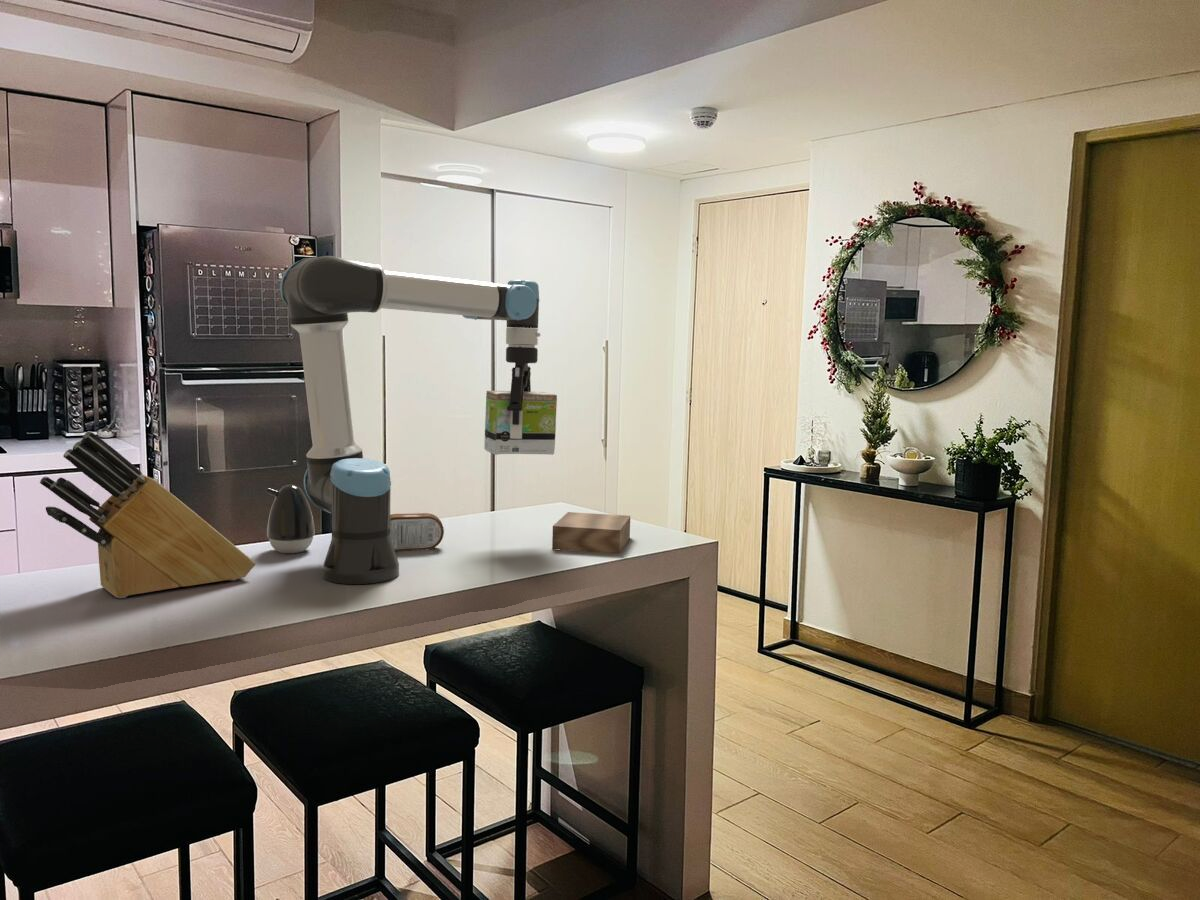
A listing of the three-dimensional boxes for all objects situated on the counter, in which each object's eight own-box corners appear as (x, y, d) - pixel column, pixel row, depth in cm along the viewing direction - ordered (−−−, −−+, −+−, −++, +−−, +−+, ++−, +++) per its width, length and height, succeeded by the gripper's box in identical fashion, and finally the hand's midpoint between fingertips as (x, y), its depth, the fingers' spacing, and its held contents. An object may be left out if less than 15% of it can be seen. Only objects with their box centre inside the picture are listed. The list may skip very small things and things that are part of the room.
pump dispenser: (273, 545, 215) (271, 480, 213) (319, 546, 216) (318, 481, 214) (261, 556, 205) (259, 488, 203) (309, 556, 206) (308, 488, 204)
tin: (442, 546, 218) (442, 511, 217) (444, 549, 215) (445, 514, 214) (377, 549, 214) (377, 513, 213) (378, 553, 211) (378, 516, 210)
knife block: (42, 595, 171) (34, 428, 167) (235, 567, 194) (232, 420, 190) (56, 609, 163) (48, 434, 159) (256, 579, 186) (253, 425, 182)
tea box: (495, 456, 217) (496, 392, 215) (483, 450, 226) (484, 390, 224) (556, 454, 223) (557, 393, 221) (542, 449, 232) (543, 390, 230)
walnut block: (552, 551, 219) (552, 525, 218) (567, 535, 236) (567, 512, 236) (619, 555, 216) (620, 530, 215) (629, 539, 234) (630, 515, 233)
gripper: (530, 347, 209) (528, 441, 211) (543, 346, 233) (541, 431, 236) (497, 346, 209) (495, 440, 212) (514, 345, 234) (512, 430, 236)
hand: (520, 435), depth 224 cm, fingers closed on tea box, 12 cm apart
